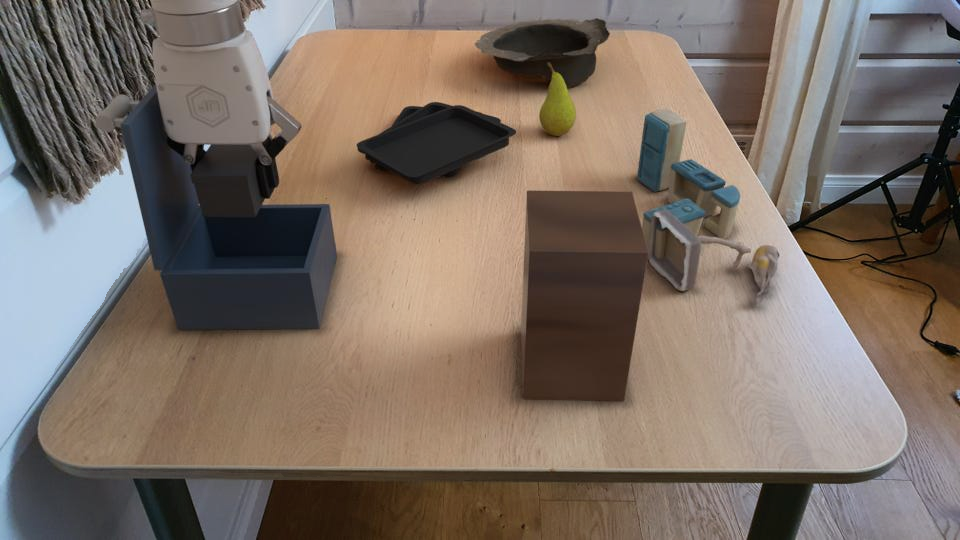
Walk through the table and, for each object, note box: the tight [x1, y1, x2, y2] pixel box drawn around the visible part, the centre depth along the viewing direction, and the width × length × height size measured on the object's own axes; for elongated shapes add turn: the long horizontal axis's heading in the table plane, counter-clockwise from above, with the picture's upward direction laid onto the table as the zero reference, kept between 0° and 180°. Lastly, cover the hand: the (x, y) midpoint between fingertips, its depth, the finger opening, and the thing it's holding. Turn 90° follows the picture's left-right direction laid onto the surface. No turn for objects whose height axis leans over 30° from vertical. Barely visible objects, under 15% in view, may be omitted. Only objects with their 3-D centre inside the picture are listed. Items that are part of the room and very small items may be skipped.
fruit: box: [538, 62, 577, 137], centre depth 116 cm, size 6×6×12 cm
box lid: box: [94, 83, 200, 271], centre depth 77 cm, size 16×14×5 cm
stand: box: [520, 189, 648, 402], centre depth 71 cm, size 10×10×18 cm
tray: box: [356, 101, 517, 185], centre depth 111 cm, size 30×23×5 cm
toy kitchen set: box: [636, 108, 741, 259], centre depth 96 cm, size 18×14×11 cm
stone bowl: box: [474, 17, 611, 90], centre depth 137 cm, size 25×25×9 cm
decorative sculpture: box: [647, 209, 780, 307], centre depth 85 cm, size 16×10×7 cm, turn 88°
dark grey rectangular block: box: [190, 145, 266, 217], centre depth 77 cm, size 9×6×5 cm, turn 178°
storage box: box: [159, 203, 338, 331], centre depth 84 cm, size 16×14×8 cm
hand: (239, 190), depth 78 cm, fingers closed on dark grey rectangular block, 5 cm apart
